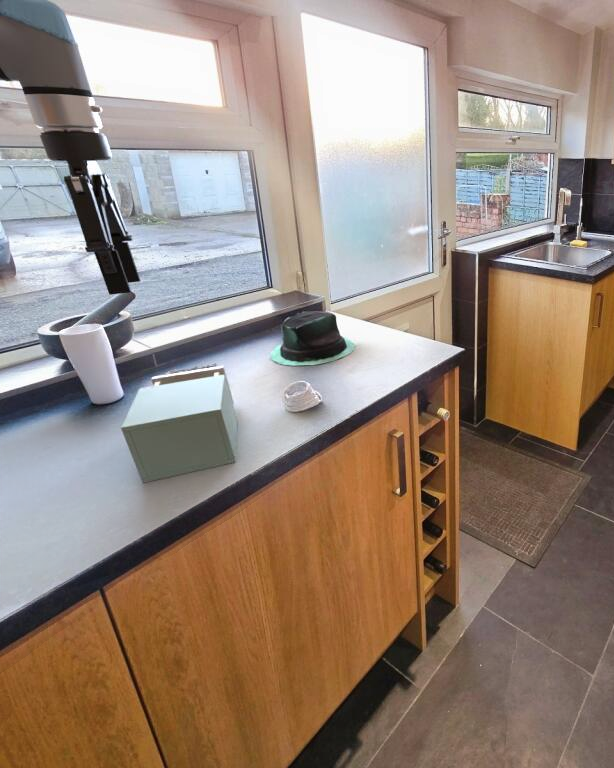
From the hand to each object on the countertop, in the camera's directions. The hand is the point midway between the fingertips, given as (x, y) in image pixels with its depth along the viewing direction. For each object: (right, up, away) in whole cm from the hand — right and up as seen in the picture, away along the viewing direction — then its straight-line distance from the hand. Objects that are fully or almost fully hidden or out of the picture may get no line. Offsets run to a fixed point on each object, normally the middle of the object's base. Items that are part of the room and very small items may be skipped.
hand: (125, 287), depth 81 cm
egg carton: (-5, -17, +24) cm, 30 cm away
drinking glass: (-18, -19, +19) cm, 33 cm away
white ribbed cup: (+22, -20, +16) cm, 34 cm away
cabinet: (+10, -27, +2) cm, 29 cm away
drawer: (+6, -22, +9) cm, 25 cm away
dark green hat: (+14, -8, +43) cm, 46 cm away
